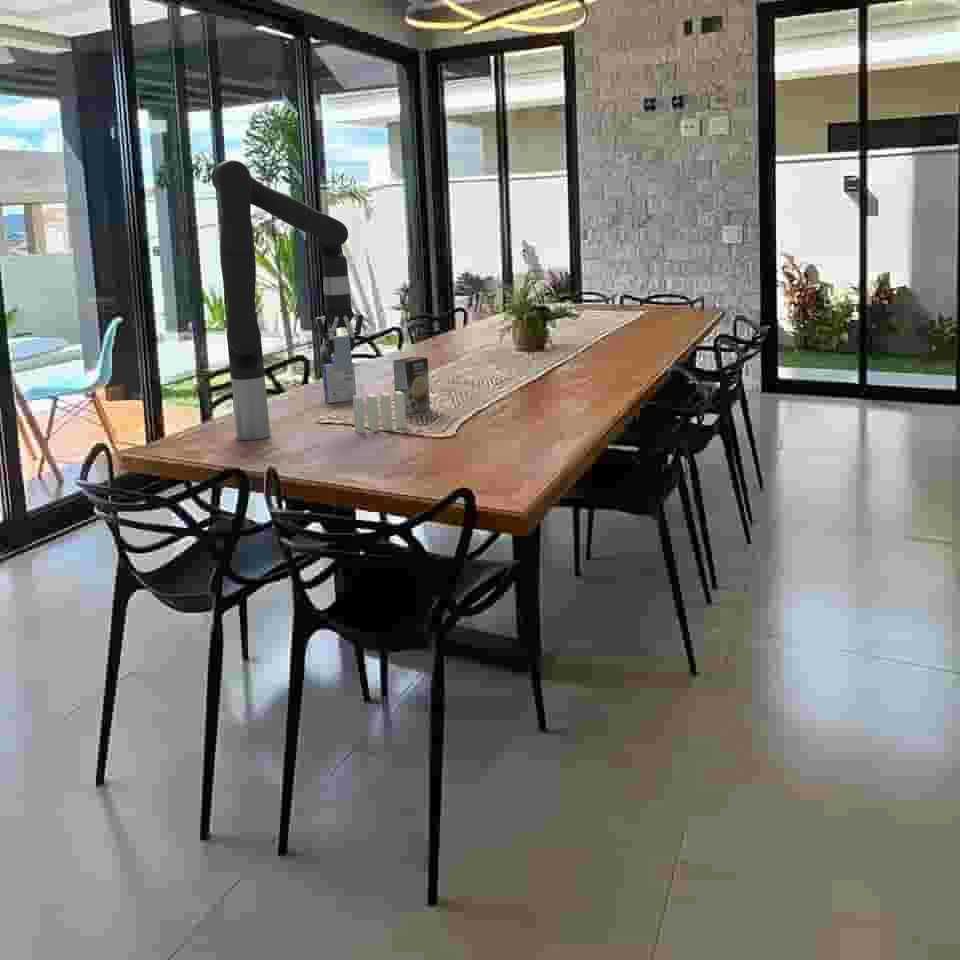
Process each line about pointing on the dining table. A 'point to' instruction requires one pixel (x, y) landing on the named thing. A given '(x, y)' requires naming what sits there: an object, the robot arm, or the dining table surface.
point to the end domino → (342, 353)
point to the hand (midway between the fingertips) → (342, 351)
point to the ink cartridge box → (338, 383)
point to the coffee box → (413, 383)
